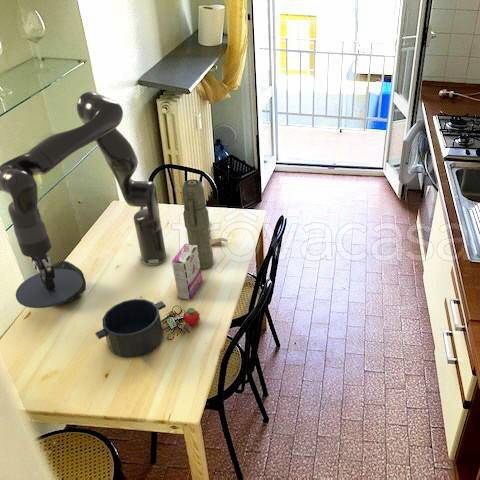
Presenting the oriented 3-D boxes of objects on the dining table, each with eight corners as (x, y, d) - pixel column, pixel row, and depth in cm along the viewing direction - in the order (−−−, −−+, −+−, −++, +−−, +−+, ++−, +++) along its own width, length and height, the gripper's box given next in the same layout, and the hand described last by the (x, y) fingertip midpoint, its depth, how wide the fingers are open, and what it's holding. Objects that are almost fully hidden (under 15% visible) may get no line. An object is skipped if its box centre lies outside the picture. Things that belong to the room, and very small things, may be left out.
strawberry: (182, 323, 169) (180, 310, 166) (195, 316, 172) (193, 303, 169) (190, 331, 166) (188, 317, 163) (203, 324, 169) (201, 310, 166)
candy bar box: (190, 279, 189) (185, 242, 180) (202, 281, 188) (198, 244, 179) (177, 298, 180) (171, 260, 171) (190, 300, 179) (185, 262, 170)
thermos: (188, 273, 192) (176, 190, 173) (191, 255, 202) (181, 175, 183) (212, 272, 193) (203, 189, 174) (214, 254, 203) (206, 174, 184)
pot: (91, 341, 161) (84, 319, 156) (154, 310, 174) (150, 288, 169) (115, 371, 152) (108, 348, 146) (180, 336, 164) (176, 313, 159)
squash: (22, 292, 172) (40, 269, 165) (51, 268, 185) (69, 246, 177) (56, 319, 175) (75, 298, 168) (83, 294, 188) (101, 273, 180)
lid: (8, 288, 149) (1, 271, 146) (68, 265, 160) (63, 248, 156) (29, 318, 139) (23, 301, 135) (93, 291, 149) (88, 274, 146)
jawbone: (208, 252, 205) (207, 247, 204) (189, 229, 220) (188, 225, 219) (228, 244, 209) (227, 239, 208) (208, 222, 224) (207, 218, 222)
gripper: (56, 241, 137) (72, 291, 146) (37, 221, 145) (53, 270, 155) (27, 251, 133) (44, 303, 142) (8, 230, 141) (27, 280, 150)
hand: (49, 285), depth 148 cm, fingers closed on lid, 2 cm apart
